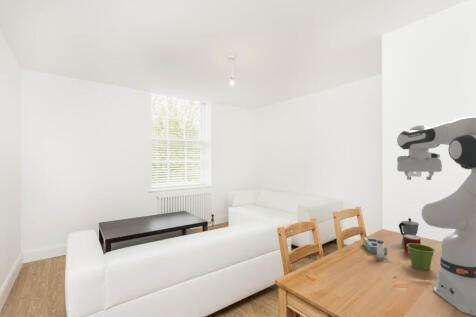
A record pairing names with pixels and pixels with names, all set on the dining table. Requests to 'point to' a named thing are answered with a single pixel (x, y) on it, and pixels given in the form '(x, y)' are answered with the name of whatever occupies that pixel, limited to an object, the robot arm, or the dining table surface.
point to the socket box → (372, 245)
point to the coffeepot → (408, 228)
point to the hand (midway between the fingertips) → (418, 179)
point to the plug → (380, 249)
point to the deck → (381, 260)
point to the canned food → (410, 241)
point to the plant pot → (420, 255)
